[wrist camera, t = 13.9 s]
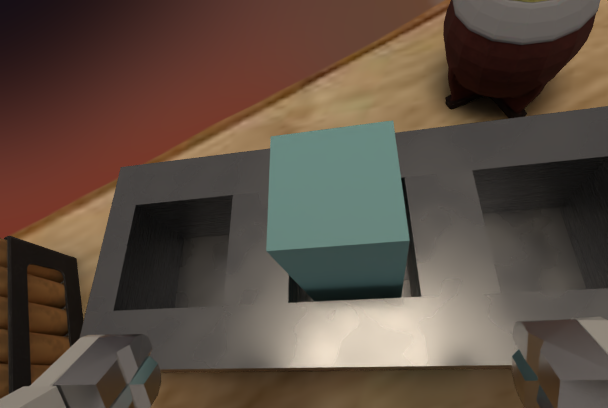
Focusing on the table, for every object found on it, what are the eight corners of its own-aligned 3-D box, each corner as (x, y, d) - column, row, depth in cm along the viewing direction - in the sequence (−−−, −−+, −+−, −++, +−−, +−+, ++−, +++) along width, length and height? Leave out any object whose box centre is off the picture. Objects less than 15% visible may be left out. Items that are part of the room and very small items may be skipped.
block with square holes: (152, 372, 21) (71, 370, 16) (177, 211, 25) (120, 167, 20) (635, 367, 16) (752, 361, 11) (566, 173, 21) (627, 103, 16)
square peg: (321, 309, 19) (266, 250, 11) (320, 237, 21) (270, 136, 12) (399, 305, 19) (409, 240, 10) (391, 232, 20) (392, 120, 12)
